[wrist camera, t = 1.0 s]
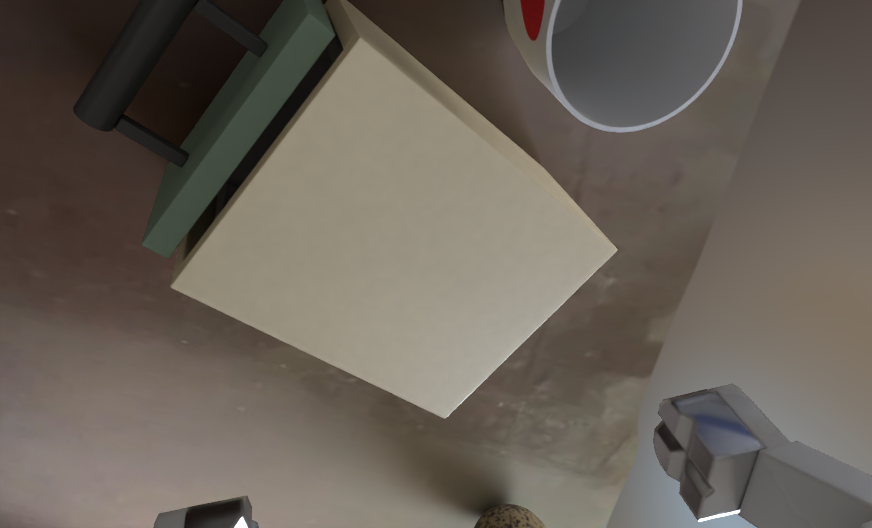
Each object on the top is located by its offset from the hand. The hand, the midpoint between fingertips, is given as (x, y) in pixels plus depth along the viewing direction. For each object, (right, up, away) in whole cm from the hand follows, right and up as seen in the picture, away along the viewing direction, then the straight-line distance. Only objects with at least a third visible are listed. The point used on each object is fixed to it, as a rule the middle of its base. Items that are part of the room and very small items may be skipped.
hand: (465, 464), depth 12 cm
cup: (+5, +18, +20) cm, 28 cm away
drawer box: (-4, +9, +24) cm, 26 cm away
